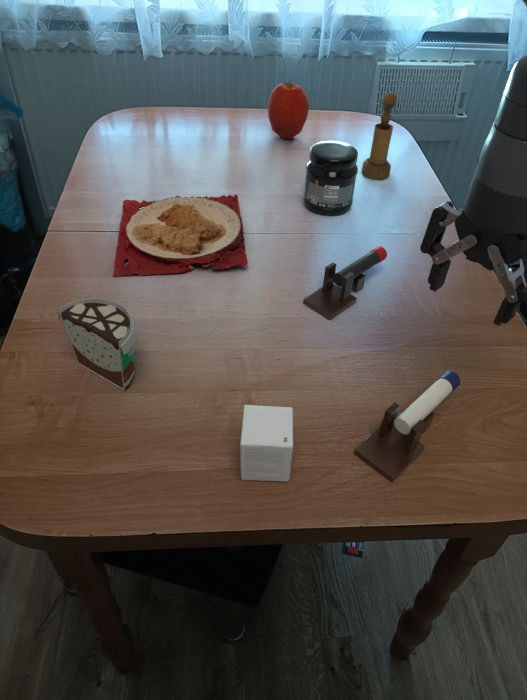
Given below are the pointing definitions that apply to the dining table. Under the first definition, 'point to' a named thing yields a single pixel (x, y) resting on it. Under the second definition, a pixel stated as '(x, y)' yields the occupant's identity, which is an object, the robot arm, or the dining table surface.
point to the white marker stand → (393, 445)
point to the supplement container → (330, 177)
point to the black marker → (361, 264)
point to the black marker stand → (334, 294)
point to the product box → (266, 443)
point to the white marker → (427, 401)
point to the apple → (288, 110)
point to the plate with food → (179, 235)
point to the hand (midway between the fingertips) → (466, 304)
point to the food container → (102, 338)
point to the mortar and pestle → (380, 144)
